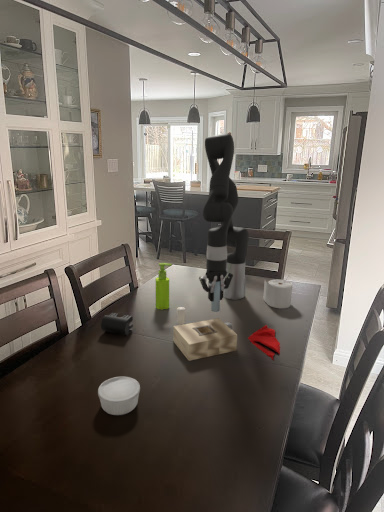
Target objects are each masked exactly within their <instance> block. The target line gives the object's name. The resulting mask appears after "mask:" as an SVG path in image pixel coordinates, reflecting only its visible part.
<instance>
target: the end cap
mask: <svg viewBox="0 0 384 512" xmlns="http://www.w3.org/2000/svg"><path fill="white" fill-rule="evenodd" d="M133 319H134V318H133V315H129V314H124V315H123V316H121V317H119V313H116V312H111V313H110V314H105V315H103V317H102V318H101V321H100V328H101V330H102V332H103V331H104V332H105V333H111V334H116V335H121V336H129V335H130V334H131V333H132V332H133V328H134V323H133Z"/></svg>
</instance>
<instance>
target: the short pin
mask: <svg viewBox="0 0 384 512" xmlns="http://www.w3.org/2000/svg"><path fill="white" fill-rule="evenodd" d="M223 323H224V324H226V325H227V326H228V327H229V328H230V329H231V330H233V323H232V322H229V321H228V322H223Z"/></svg>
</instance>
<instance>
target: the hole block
mask: <svg viewBox="0 0 384 512" xmlns="http://www.w3.org/2000/svg"><path fill="white" fill-rule="evenodd" d="M224 323H225V322H224V321H222V320H221V319H220V318H219V317H218V318H213V319H208V320H207V319H205V320H200V321H195V322H191V323H185V324H183V325H178V326H177V325H173V340H172V341H173V343H174V344H175V345H176V346H177V348H178V350H180V351H181V353H182V354H183V356H185V358H186V360H187V361H189V362H190V361H193V360H198V359H199V360H200V359H203V358H209V357H212V356H217V355H221V354H226V353H230V352H237V347H238V334H237V333H236V332H235V331H234V330H233V329H232V330H231V329H230V328H229V327H228V326H227V325H226V324H224Z"/></svg>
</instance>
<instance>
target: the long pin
mask: <svg viewBox="0 0 384 512" xmlns="http://www.w3.org/2000/svg"><path fill="white" fill-rule="evenodd" d="M213 293H214V301H213V302H211V301H210V302H211V308H210V310H211V312H214V313H218V312H220V310H221V309H220V307H221V305H220V304H221V300H220V281H218V282H216V284H215V287H214V290H213Z"/></svg>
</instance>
